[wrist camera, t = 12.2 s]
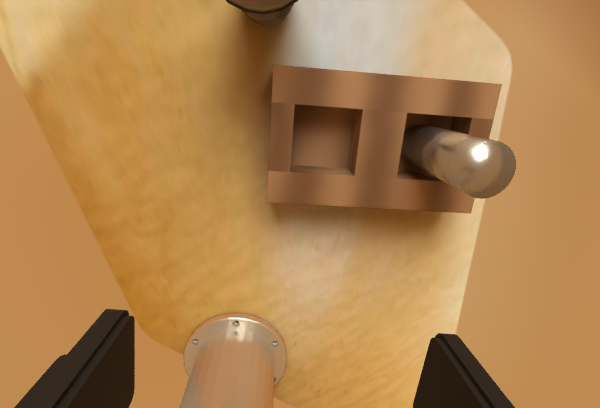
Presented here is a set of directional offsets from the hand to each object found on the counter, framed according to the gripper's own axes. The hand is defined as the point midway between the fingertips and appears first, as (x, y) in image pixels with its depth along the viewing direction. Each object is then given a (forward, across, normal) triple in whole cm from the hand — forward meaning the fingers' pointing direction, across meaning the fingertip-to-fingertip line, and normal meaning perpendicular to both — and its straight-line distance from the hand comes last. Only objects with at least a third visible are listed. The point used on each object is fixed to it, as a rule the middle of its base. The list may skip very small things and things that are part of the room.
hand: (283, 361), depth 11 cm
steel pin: (+25, -14, -6) cm, 29 cm away
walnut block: (+27, -9, -6) cm, 29 cm away
